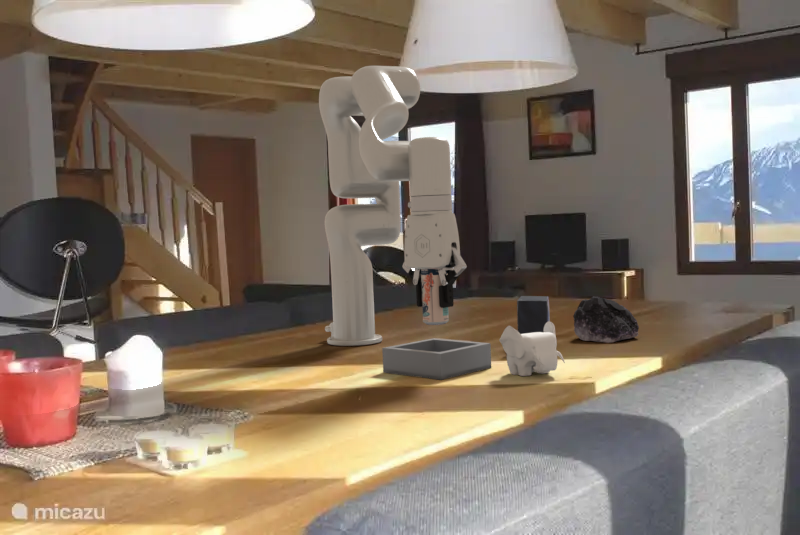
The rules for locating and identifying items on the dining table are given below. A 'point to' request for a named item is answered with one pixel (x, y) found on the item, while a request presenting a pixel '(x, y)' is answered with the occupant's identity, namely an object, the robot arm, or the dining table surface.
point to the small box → (532, 313)
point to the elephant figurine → (531, 350)
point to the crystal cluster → (604, 321)
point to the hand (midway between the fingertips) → (435, 305)
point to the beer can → (432, 298)
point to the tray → (436, 358)
